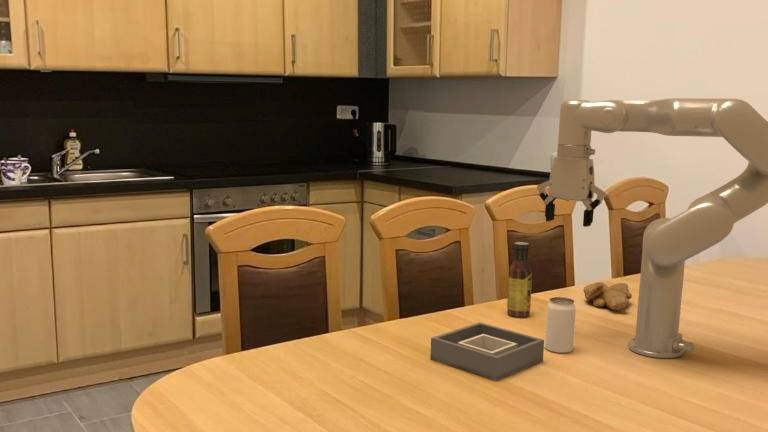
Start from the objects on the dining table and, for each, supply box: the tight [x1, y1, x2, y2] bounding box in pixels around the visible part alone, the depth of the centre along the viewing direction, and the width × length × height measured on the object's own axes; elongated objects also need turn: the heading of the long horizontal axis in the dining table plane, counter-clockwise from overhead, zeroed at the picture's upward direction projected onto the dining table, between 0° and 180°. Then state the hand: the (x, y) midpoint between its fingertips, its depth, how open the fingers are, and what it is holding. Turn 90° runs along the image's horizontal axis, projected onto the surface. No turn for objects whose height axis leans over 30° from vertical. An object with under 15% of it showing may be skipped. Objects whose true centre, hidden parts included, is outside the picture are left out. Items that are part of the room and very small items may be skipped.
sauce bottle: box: [506, 241, 533, 318], centre depth 212 cm, size 7×6×20 cm
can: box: [544, 296, 576, 354], centre depth 185 cm, size 6×6×12 cm
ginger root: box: [582, 281, 633, 311], centre depth 226 cm, size 16×16×8 cm
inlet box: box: [429, 321, 545, 382], centre depth 177 cm, size 18×18×5 cm
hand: (568, 223), depth 190 cm, fingers open, 9 cm apart
